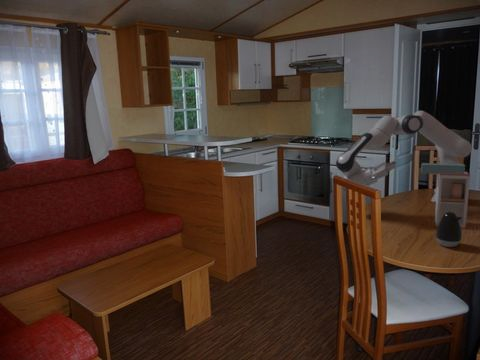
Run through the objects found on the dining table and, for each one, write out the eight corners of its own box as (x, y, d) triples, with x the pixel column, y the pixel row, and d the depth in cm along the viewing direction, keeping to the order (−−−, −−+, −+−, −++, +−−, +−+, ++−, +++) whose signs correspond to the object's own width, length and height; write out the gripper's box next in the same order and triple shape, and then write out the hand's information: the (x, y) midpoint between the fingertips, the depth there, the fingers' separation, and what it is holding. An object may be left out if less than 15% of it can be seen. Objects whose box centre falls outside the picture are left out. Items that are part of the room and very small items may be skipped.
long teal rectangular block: (421, 171, 209) (421, 163, 208) (463, 173, 203) (463, 164, 202) (421, 173, 206) (422, 164, 205) (464, 174, 199) (465, 165, 198)
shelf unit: (434, 220, 214) (438, 169, 209) (462, 222, 210) (467, 170, 204) (436, 225, 206) (439, 173, 200) (465, 227, 202) (470, 173, 196)
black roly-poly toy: (451, 251, 175) (453, 217, 172) (430, 243, 184) (432, 211, 181) (466, 246, 179) (469, 213, 176) (445, 239, 188) (447, 207, 185)
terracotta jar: (449, 197, 207) (451, 182, 206) (461, 198, 206) (462, 182, 204) (451, 200, 203) (452, 184, 201) (462, 201, 201) (463, 185, 199)
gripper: (366, 174, 211) (392, 162, 205) (369, 167, 229) (392, 155, 224) (372, 185, 211) (398, 173, 205) (374, 177, 230) (398, 165, 224)
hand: (395, 163), depth 215 cm, fingers open, 8 cm apart
